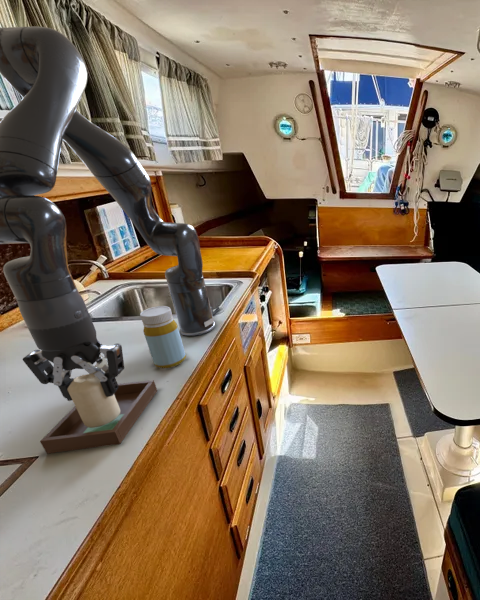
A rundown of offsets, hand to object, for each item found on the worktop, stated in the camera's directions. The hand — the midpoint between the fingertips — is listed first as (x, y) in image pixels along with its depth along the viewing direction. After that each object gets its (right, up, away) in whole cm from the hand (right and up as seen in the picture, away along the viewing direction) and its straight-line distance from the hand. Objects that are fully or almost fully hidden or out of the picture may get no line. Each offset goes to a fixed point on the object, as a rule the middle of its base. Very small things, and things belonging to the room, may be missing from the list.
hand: (93, 395), depth 62 cm
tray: (-2, -6, +5) cm, 8 cm away
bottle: (-2, +2, +24) cm, 24 cm away
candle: (0, -5, +2) cm, 6 cm away
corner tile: (+1, -7, +2) cm, 7 cm away
